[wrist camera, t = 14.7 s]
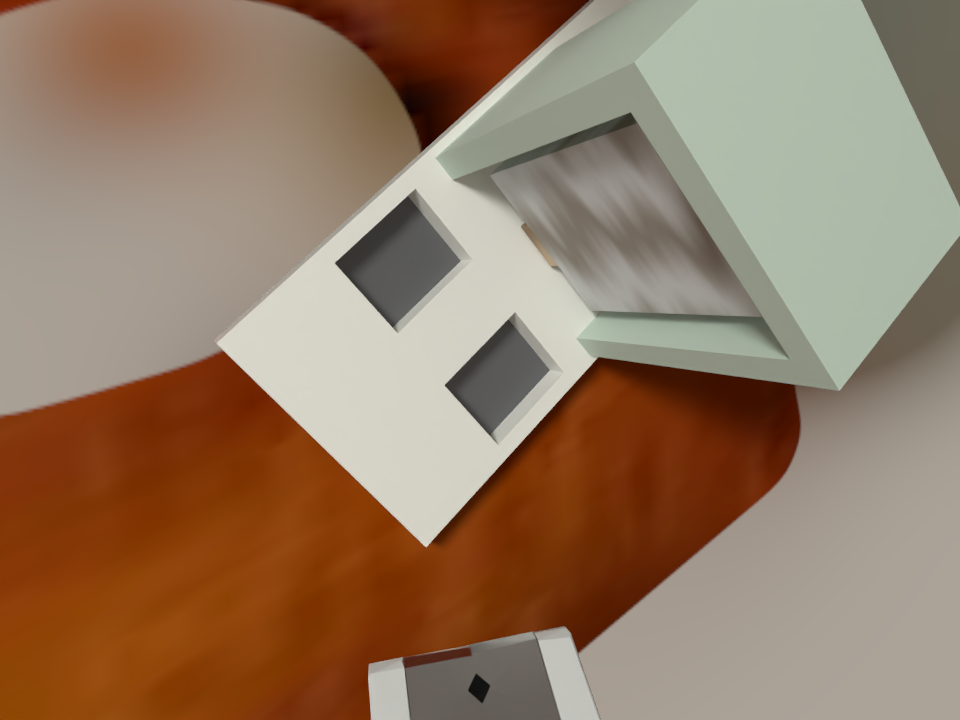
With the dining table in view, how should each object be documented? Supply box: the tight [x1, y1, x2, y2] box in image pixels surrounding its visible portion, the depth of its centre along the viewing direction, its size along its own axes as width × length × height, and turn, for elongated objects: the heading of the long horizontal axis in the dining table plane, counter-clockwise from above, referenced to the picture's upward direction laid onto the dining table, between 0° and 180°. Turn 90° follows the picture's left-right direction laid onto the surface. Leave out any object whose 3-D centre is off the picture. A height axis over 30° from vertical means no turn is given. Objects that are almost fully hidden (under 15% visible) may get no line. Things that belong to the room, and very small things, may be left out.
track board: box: [214, 0, 634, 547], centre depth 43 cm, size 16×36×2 cm, turn 132°
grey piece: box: [490, 112, 762, 317], centre depth 37 cm, size 10×21×14 cm, turn 132°
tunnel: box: [435, 0, 960, 391], centre depth 34 cm, size 15×10×18 cm, turn 42°
